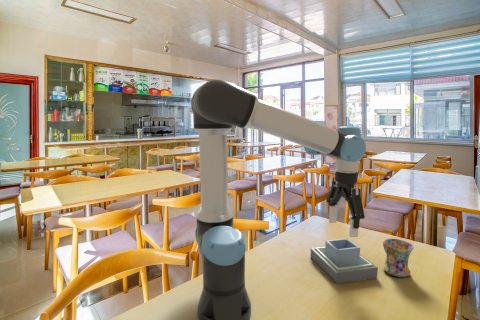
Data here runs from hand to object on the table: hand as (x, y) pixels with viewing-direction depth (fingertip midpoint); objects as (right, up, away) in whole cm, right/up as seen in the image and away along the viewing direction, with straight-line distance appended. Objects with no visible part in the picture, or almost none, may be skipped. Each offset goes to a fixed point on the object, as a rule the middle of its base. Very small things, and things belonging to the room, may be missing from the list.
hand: (342, 229), depth 105 cm
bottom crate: (0, -15, +2) cm, 15 cm away
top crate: (0, -15, +2) cm, 15 cm away
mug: (+18, -15, 0) cm, 24 cm away
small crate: (0, -13, +2) cm, 13 cm away
